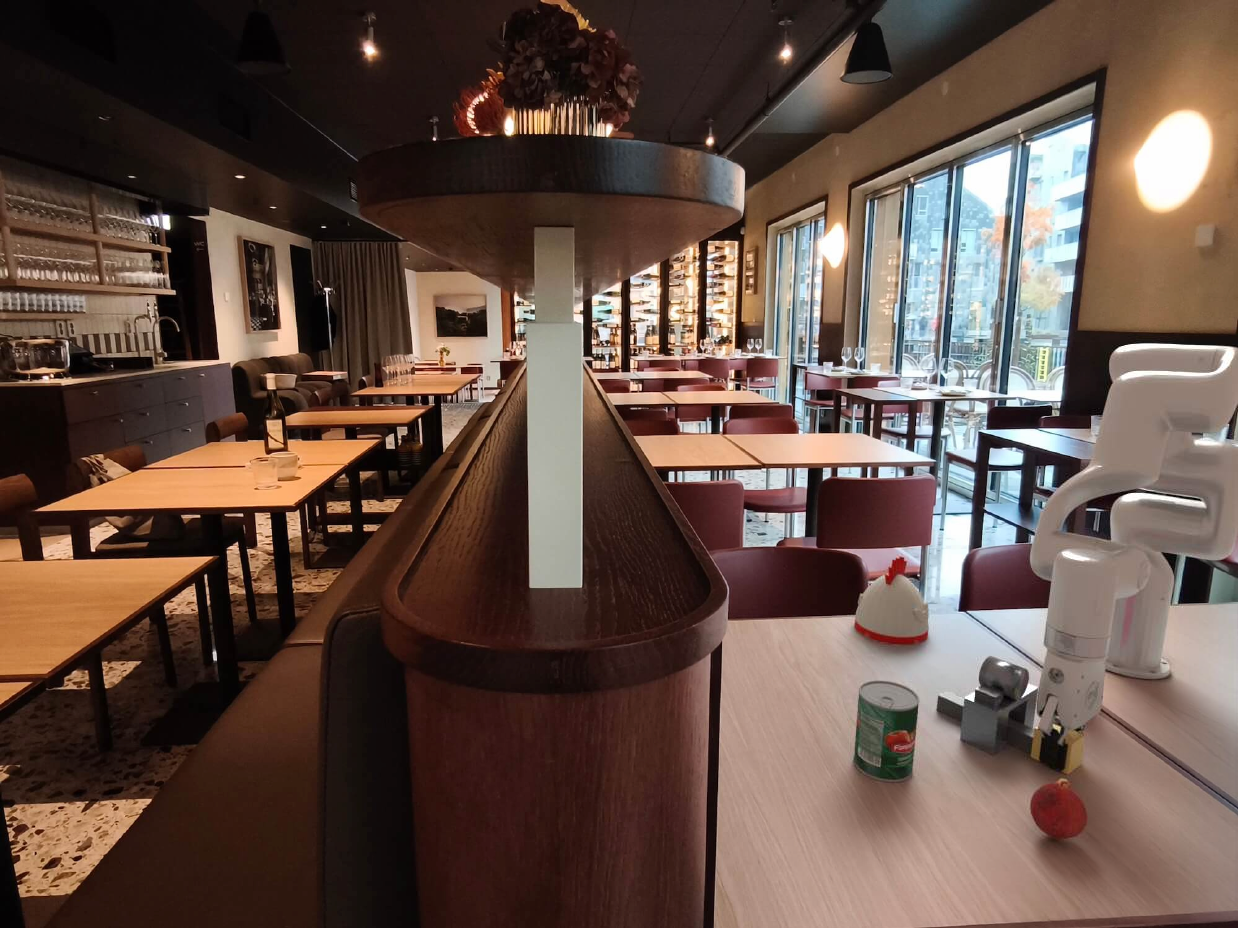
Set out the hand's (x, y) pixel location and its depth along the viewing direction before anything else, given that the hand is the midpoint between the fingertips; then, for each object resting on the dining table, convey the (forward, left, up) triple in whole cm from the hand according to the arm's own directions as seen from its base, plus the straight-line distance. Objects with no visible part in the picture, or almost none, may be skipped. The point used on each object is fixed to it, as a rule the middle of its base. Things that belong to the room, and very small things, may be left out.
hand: (1059, 758), depth 104 cm
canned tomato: (+21, -14, -1) cm, 25 cm away
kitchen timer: (-20, -40, -1) cm, 45 cm away
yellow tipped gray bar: (0, -8, -1) cm, 8 cm away
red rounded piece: (+17, +7, -1) cm, 18 cm away
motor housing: (0, -9, -1) cm, 9 cm away
